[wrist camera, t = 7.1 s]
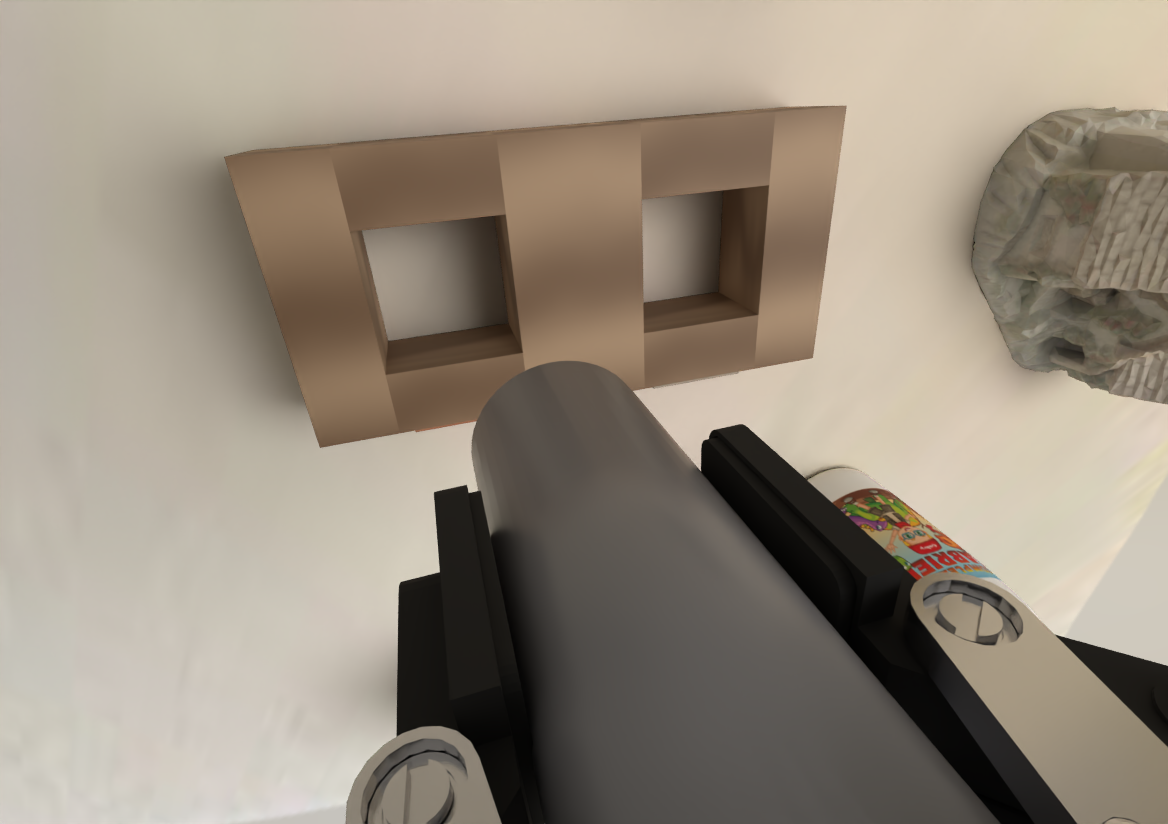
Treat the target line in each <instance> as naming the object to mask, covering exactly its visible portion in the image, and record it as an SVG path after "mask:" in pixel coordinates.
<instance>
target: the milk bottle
mask: <svg viewBox="0 0 1168 824" xmlns="http://www.w3.org/2000/svg"><path fill="white" fill-rule="evenodd" d="M807 481H808V482H810V483H811V484H812V485H813V486H814V487H815V488H816V489H817V490H819V491H820V492H821V493H822V494H823V495H824V496H825V497H826V498H828V499H829V500H830V501H831V502H832V503H833V504H834V505H835V506H837V507H838V508H839V509H840V510H841V511H842V512H843V513H844V514H846V515H847V516H848V517H849V518H850V519H851V520H852V521H853V522H855V523H856V524H857V525H858V526H859V527H860V528H861V529H863V530H864V531H865V532H866V533H867V534H868V535H869V536H870V537H872V538H873V539H874V540H875V541H876V542H877V543H878V544H879V545H881V546H882V547H883V548H884V549H885V550H886V551H887V552H888V553H890V554H891V555H892V556H893V557H894V558H895V559H896V560H897V561H899V562H900V563H901V564H902V565H903V566H904V569H905V570H907V571H908V572H909V573H910V574H911V575H912V576H913V577H914V578H915V579H917V580H919V579H921V578H922V577H923V576H926V575H930V574H934V573H937V572H955V573H961V574H966V575H972V576H975V577H978V578H981V579H983V580H986V581H989V582H992V583H993V584H995V585H997V586H999V587H1001V588H1003V589H1004V590H1006V591H1008V592H1010V593H1011V594H1012V595H1013V596H1015V597H1016V598H1017V599H1018V600H1019V601H1021V602H1022V603H1023V604H1024V605H1025V606H1026V607H1027V608H1028V609H1029V610H1030V611H1031V612H1032V613H1033V614H1034V615H1035V616H1036V617H1037V618H1038V619H1039V620H1040V618H1039V617H1038V616H1037V615H1036V614H1035V612H1034V611H1033V610H1032V609H1031V608H1030V606H1029V605H1028V604H1027V603H1026V602H1025V601H1024V600H1023V599H1022V598H1021V597H1020V596H1018V595H1017V594H1016V593H1015V592H1014V591H1013V590H1012V589H1011V588H1010V587H1009V586H1007V585H1006V584H1005V583H1004V582H1003V581H1001V580H1000V579H999V578H998V577H997V576H995V575H994V574H993V573H992V572H991V571H990V570H988V569H987V568H986V567H985V566H984V565H982V564H981V563H980V562H979V561H977V560H976V559H975V558H974V557H972V556H971V555H970V554H969V553H967V552H966V551H965V550H964V549H962V548H961V547H960V546H959V545H957V544H956V543H955V542H954V541H952V540H951V539H950V538H948V537H947V536H946V535H945V534H943V533H942V532H941V531H940V530H938V529H937V528H936V527H935V526H933V525H932V524H931V523H929V522H928V521H927V520H926V519H924V518H923V517H922V516H921V515H919V514H918V513H917V512H915V511H914V510H913V509H912V508H910V507H909V506H908V505H907V504H905V503H904V502H903V501H901V500H900V499H899V498H898V497H896V496H895V495H894V494H892V493H891V492H890V491H889V490H887V489H886V488H885V487H883V486H882V485H881V484H880V483H878V482H877V481H875V480H874V479H873V478H871V477H870V476H869V475H867V474H866V473H864V472H862V471H859V470H855V469H849V468H836V469H831V470H827V471H825V472H822V473H819V474H817V475H815V476H814V477H812V478H810V479H808V480H807ZM1040 621H1041V620H1040ZM1041 622H1042V621H1041ZM1042 623H1043V622H1042Z"/></svg>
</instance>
